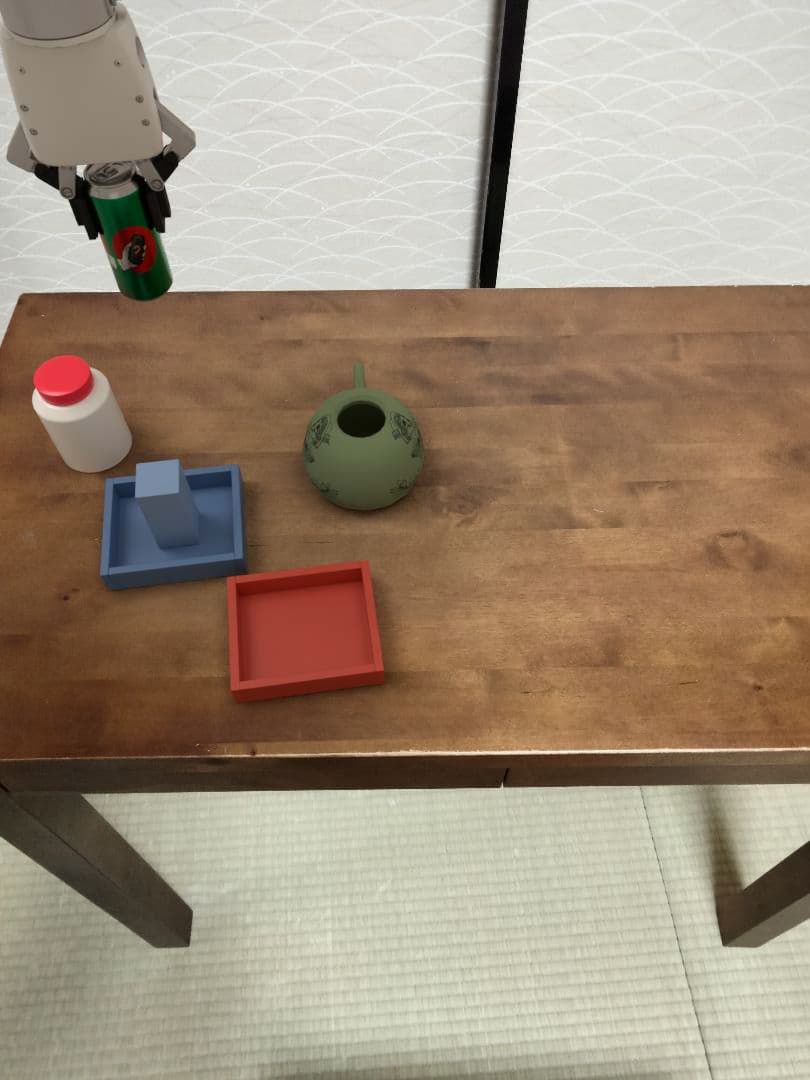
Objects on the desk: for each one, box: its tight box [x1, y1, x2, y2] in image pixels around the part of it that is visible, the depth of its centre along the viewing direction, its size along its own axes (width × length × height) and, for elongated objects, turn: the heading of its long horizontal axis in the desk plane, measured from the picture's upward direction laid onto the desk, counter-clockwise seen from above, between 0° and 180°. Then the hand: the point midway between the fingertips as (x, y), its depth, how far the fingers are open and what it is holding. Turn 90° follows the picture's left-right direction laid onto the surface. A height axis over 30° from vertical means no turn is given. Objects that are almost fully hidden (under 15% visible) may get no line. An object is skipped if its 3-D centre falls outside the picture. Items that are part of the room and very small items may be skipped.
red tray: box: [226, 559, 386, 704], centre depth 76 cm, size 14×12×3 cm
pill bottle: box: [31, 354, 133, 474], centre depth 85 cm, size 8×8×11 cm
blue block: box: [135, 458, 199, 549], centre depth 80 cm, size 4×4×9 cm
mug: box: [301, 361, 426, 511], centre depth 85 cm, size 16×13×9 cm
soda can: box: [82, 161, 174, 303], centre depth 72 cm, size 5×5×12 cm
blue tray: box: [99, 463, 249, 591], centre depth 83 cm, size 14×12×3 cm
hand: (127, 224), depth 71 cm, fingers closed on soda can, 5 cm apart
